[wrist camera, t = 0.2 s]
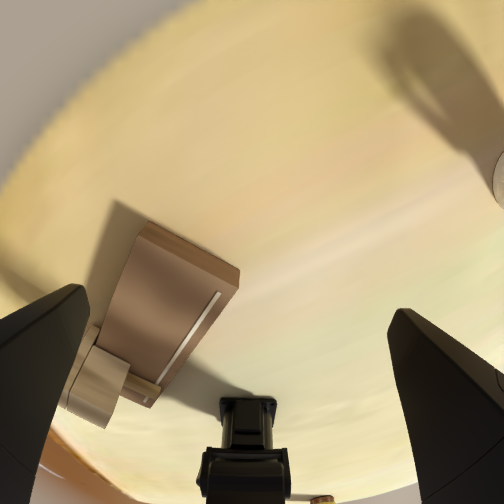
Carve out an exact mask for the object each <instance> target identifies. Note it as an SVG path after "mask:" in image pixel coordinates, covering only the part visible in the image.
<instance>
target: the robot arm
mask: <svg viewBox="0 0 504 504" xmlns="http://www.w3.org/2000/svg"><path fill="white" fill-rule="evenodd" d="M89 315H90V307H89V303H88V299H87V295H86V291H85V288H84V286H83V285H80V284H73V283H72V284H68V285H66V286H64V287H62V288H60V289H58V290H56V291H54V292H52V293H50V294H48V295H46V296H44V297H42V298H40V299H38V300H36V301H35V302H33V303H31V304H29V305H27V306H25V307H23V308H21V309H19V310H17V311H15V312H13V313H11V314H10V315H8V316H6V317H4V318H2V319H0V504H29V502H30V497H31V493H32V489H33V485H34V481H35V475H36V472H37V468H38V465H39V461H40V457H41V454H42V450H43V447H44V444H45V441H46V438H47V434H48V431H49V428H50V425H51V422H52V419H53V416H54V414H55V411H56V408H57V405H58V402H59V400H60V397H61V394H62V392H63V389H64V386H65V384H66V381H67V379H68V376H69V374H70V371H71V369H72V366H73V364H74V361H75V359H76V356H77V353H78V350H79V346H80V343H81V340H82V337H83V334H84V331H85V328H86V325H87V322H88V319H89ZM387 339H388V344H389V349H390V355H391V360H392V366H393V372H394V377H395V382H396V386H397V389H398V393H399V397H400V401H401V405H402V409H403V413H404V417H405V421H406V425H407V429H408V433H409V438H410V442H411V447H412V452H413V457H414V462H415V467H416V472H417V478H418V483H419V489H420V496H421V501H422V504H504V374H503V373H502V372H500V371H499V370H497V369H495V368H494V367H493V366H492V365H491V364H489V363H488V362H486V361H485V360H484V359H482V358H481V357H480V356H478V355H477V354H475V353H474V352H473V351H471V350H470V349H468V348H467V347H466V346H464V345H463V344H461V343H460V342H458V341H457V340H456V339H454V338H453V337H451V336H450V335H448V334H447V333H446V332H444V331H443V330H441V329H440V328H438V327H437V326H435V325H434V324H433V323H431V322H430V321H428V320H427V319H425V318H424V317H422V316H421V315H419V314H418V313H416V312H415V311H413V310H412V309H410V308H399V309H397V310H396V312H395V314H394V316H393V319H392V321H391V324H390V326H389V328H388V332H387ZM276 407H277V401H276V400H275V399H235V398H221V399H220V414H221V425H222V427H223V433H222V446H221V448H212V447H207V449H206V452H203V454H202V462H201V467H200V470H199V473H198V476H197V479H196V484H197V485H198V486H199V487H200V490H201V493H202V497H206V504H285V499H289V498H290V494H291V475H290V467H289V460H288V452H287V448H282V449H273V439H272V428H273V424H274V419H275V413H276Z"/></svg>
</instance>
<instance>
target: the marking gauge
mask: <svg viewBox="0 0 504 504" xmlns="http://www.w3.org/2000/svg"><path fill="white" fill-rule="evenodd" d="M99 332H100V329H99V328H97V327H95V326H93V325H91V327H90V329H89V330H88V332H87V334H86V335H85V337H84V339H83V341H82V342H81V344H80V346H79V350H78V353H77V356H76V359H75V361H74V364H73V366H72V369H71V371H70V374H69V376H68V379H67V381H66V384H65V386H64V389H63V392H62V394H61V397H60V400H59V402H58V405H59V406H60V407H62V408H64V409H66V407H67V410H68V411H69V412H71V413H73V414H75V415H77V416H79V417H81V418H83V419H85V420H87V421H89V422H91V423H93V424H95V425H97V426H99V427H101V428H103V429H105V428H106V426H107V424H108V422H109V420H110V418H111V416H112V414H113V412H114V409H115V406H116V403H117V400H118V397H119V395H120V392H121V389H122V386H125V387H127V388H130V389H132V390H134V391H136V392H138V393H140V394H143V395H145V396H147V397H150V398H152V399H154V400H156V398H157V397H158V396H159V393H160V389H161V387H160V386H157V385H155V384H153V383H151V382H148V381H146V380H144V379H142V378H140V377H137V376H135V375H133V374H131V373H129V372H128V370H129V367H130V365H131V364H129V363H127V362H125V361H123V360H121V359H119V358H117V357H115V356H113V355H111V354H109V353H107V352H105V351H103V350H102V349H100V348H98V347H96V346H95V344H96V341H97V338H98V335H99Z"/></svg>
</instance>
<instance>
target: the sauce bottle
mask: <svg viewBox="0 0 504 504" xmlns="http://www.w3.org/2000/svg"><path fill="white" fill-rule="evenodd" d="M310 504H335V502H334V497H332V496H324V497H319V498H315V499H312V500H311V501H310Z"/></svg>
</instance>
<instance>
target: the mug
mask: <svg viewBox="0 0 504 504" xmlns="http://www.w3.org/2000/svg"><path fill="white" fill-rule="evenodd" d="M493 191H494V195H495V199H496V201H497V203H498V204H499V205H500V207H501V208H503V209H504V153H503V154H502V155H501V156H500V158H499V160H498V162H497V164H496V167H495V171H494V176H493Z"/></svg>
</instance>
